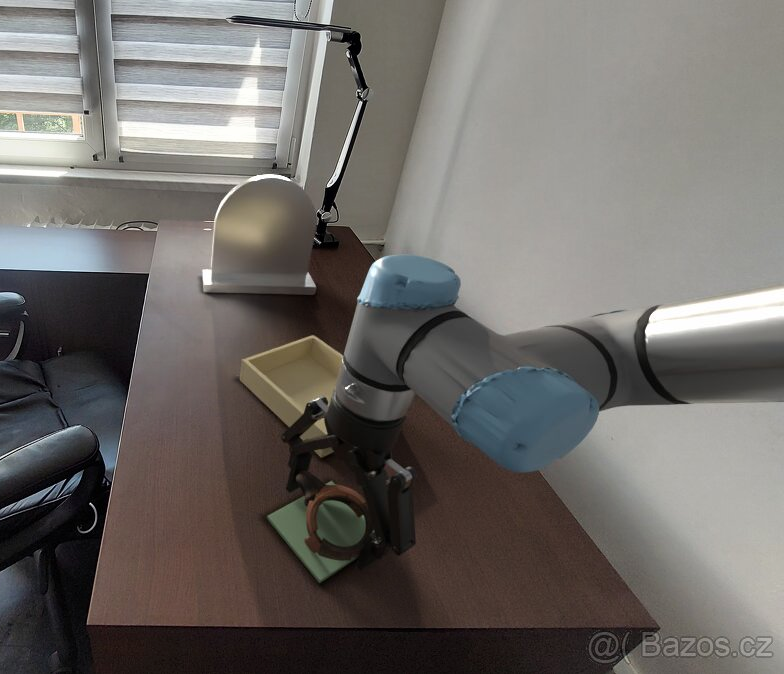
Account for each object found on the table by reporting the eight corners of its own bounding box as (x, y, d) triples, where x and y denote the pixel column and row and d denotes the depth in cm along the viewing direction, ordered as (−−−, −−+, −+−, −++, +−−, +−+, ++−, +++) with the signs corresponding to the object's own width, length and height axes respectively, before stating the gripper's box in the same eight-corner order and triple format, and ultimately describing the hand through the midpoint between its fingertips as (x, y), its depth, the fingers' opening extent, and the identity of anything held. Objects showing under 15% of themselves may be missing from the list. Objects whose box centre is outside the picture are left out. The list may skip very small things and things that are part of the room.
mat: (386, 538, 60) (387, 535, 59) (319, 583, 55) (320, 580, 54) (330, 483, 67) (331, 480, 67) (266, 518, 62) (267, 515, 61)
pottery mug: (382, 528, 61) (398, 523, 54) (333, 580, 59) (343, 581, 52) (314, 461, 66) (319, 447, 59) (267, 506, 64) (267, 498, 57)
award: (306, 278, 122) (327, 172, 107) (314, 294, 115) (338, 183, 100) (202, 276, 122) (208, 169, 106) (203, 292, 114) (210, 179, 99)
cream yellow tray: (396, 419, 78) (404, 398, 76) (321, 458, 71) (327, 436, 68) (308, 354, 94) (313, 334, 91) (239, 379, 86) (242, 359, 83)
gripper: (268, 349, 55) (249, 468, 67) (454, 501, 38) (382, 624, 50) (314, 333, 58) (288, 450, 70) (505, 466, 41) (426, 590, 53)
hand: (327, 522), depth 60 cm, fingers closed on pottery mug, 12 cm apart
